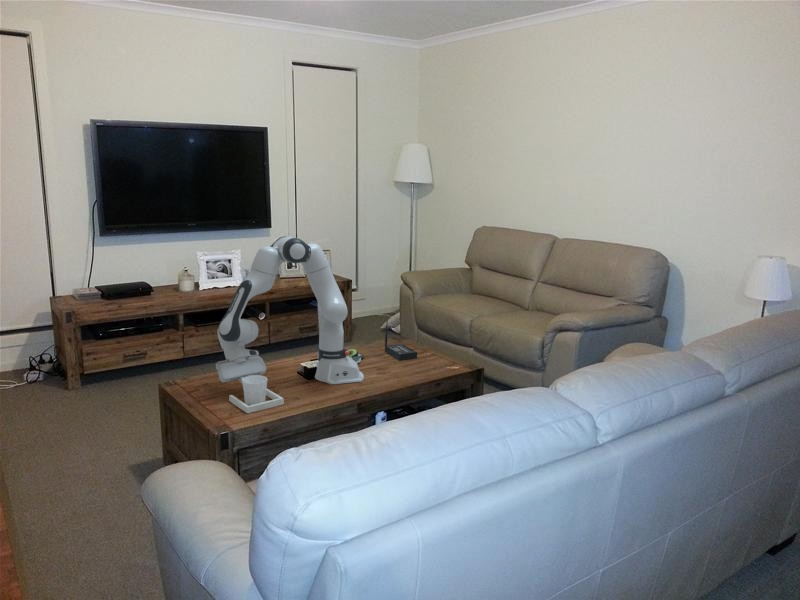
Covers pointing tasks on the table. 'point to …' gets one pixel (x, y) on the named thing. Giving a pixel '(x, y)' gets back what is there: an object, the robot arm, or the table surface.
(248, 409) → the white u-shaped frame
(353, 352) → the salad plate
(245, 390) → the cup
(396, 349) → the wifi router
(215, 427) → the table surface
